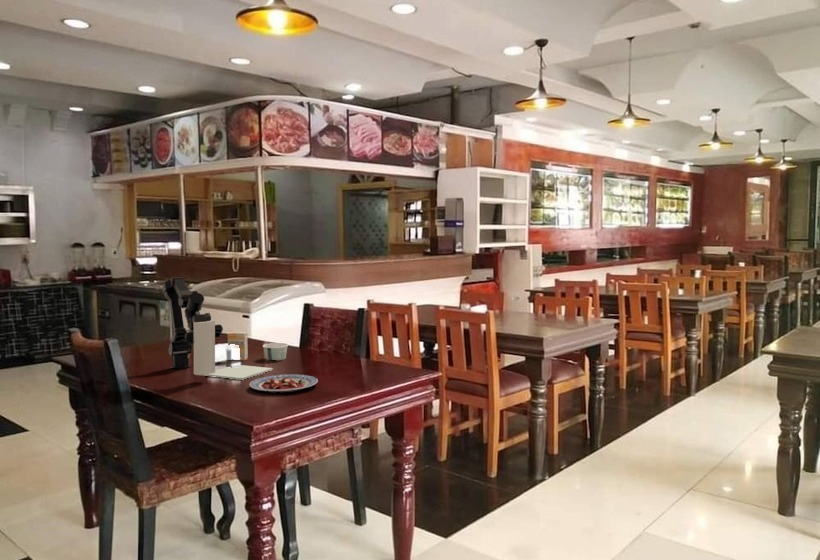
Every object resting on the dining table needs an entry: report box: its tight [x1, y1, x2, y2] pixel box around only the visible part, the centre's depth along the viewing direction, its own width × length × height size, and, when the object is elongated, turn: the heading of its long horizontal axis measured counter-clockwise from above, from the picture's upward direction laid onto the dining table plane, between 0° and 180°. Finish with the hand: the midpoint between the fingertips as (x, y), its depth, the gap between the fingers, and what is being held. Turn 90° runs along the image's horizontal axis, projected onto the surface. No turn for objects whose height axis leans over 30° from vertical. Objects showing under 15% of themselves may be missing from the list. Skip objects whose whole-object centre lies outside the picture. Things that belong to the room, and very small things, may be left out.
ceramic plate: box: [249, 373, 319, 393], centre depth 238 cm, size 26×26×3 cm
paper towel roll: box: [193, 320, 216, 376], centre depth 246 cm, size 7×6×21 cm
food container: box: [262, 342, 289, 361], centre depth 293 cm, size 12×12×6 cm
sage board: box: [203, 364, 274, 381], centre depth 262 cm, size 20×20×1 cm
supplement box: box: [227, 331, 249, 362], centre depth 291 cm, size 8×5×13 cm, turn 88°
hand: (203, 349), depth 245 cm, fingers closed on paper towel roll, 3 cm apart
